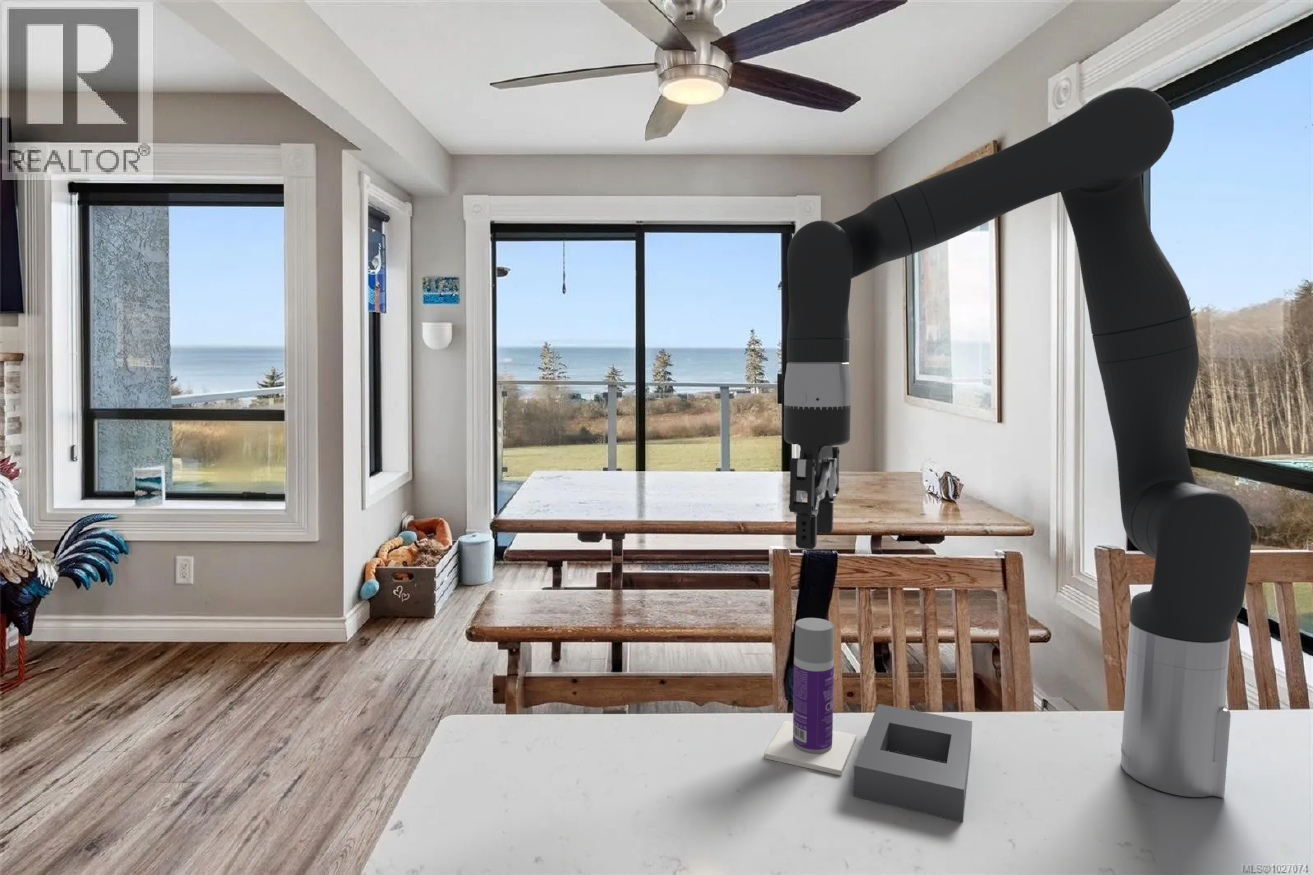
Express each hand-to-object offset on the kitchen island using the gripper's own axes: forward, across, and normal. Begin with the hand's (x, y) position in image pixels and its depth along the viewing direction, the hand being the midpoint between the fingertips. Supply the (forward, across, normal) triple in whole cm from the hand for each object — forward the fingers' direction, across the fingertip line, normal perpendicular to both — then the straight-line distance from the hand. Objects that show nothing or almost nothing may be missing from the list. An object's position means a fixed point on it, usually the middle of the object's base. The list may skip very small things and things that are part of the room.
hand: (815, 539), depth 89 cm
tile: (+26, 0, 0) cm, 26 cm away
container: (+25, 0, 0) cm, 25 cm away
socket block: (+26, 0, -12) cm, 29 cm away
